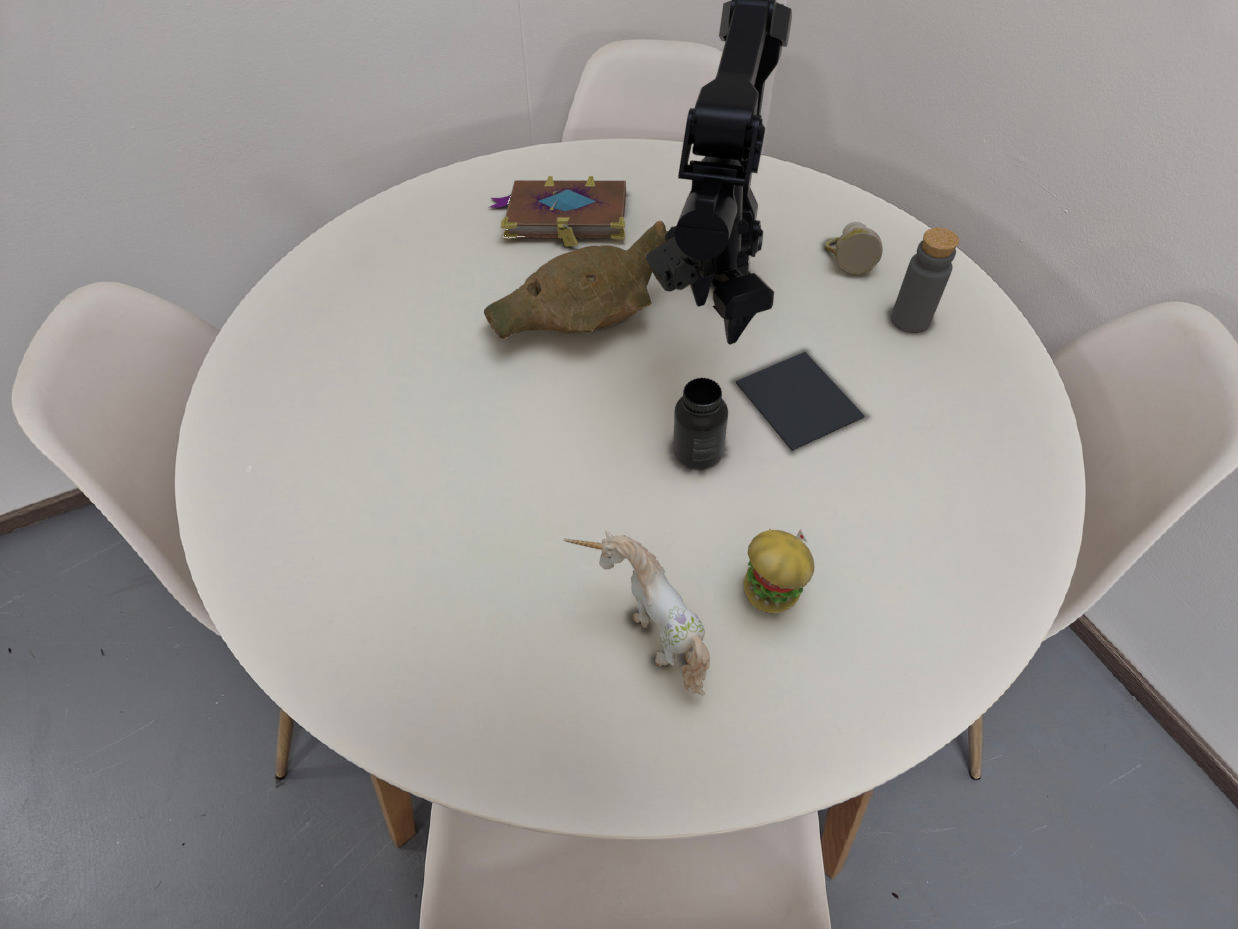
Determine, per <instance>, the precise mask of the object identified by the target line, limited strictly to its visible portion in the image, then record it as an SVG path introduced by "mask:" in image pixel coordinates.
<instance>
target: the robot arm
mask: <svg viewBox="0 0 1238 929" xmlns="http://www.w3.org/2000/svg"><path fill="white" fill-rule="evenodd" d="M792 19H793V10H792V8H791V7H788V6H786V5H785V4H784V3H780V2H778V1H777V0H728V1H726V2H723V3H722V10H721V18H720V25H719V32H718V37H719V40H720V41H721V42H724V45H723V49H722V51H721V52H722V53H721V57H720V61H719V64H718V67H717V73H716V75H715V78H713V79H712V80H711V81H710V82H708V83H705V85H703V86H702V87H700V91H699V93H698V96H697V99H696V102H695V105H694V107H690V108H689V109H688V113H687V116H686V123H685V128H684V136H683V140H682V141H683V142H682V147H681V148H682V149H681V156H680V160H679V168H678V174H677V179H679V180H686V181H691V188H690V191H689V193H688V195H687V197H686V200H685V202H684V205H683V207H682V210H681V213H680V215H679V218H678V220H677V223H676V225H674V226H670V228H669V230H667V231H668V232H667V233H666V235H665V243H663V244H662V245H660V246H658V247H657V248H655V249H654V250H652V251H651V252H649V253H648V254H647V256H646V260H647V262H648V264H649V266H650V268H651V270H652V274H653V276H654V278H655V280H656V281H657V282H658V283H659V285H660V286H661V287H662V289H663V290H664V291H665V292H668V293H670V292H674V291H683V290H684V289H686V288H688V287H689V286H690V288H691V292H692V296H693V298H694V301H695V305H696V306H697V307H698V308H699V307H703V306H705V305H706V303H707V300H708V297H709V294H710V291H711V287H713V288H714V289H713V290H712V300H713V303H714V305H712V308H713V309H714V310H715V312H716V313H717V314H718V315H719V316H720V317H721V318H722V319H723V323H724V324H723V325H724V332H725V333H724V334H725V338H726V343H727V344H728V345H729V346H731V345H733V344H737V342H738V340H739V339H740V338H741V336H742V334H743V333H744V331H746V329H747V327H748V325H749V324H750V322H751V321H752V319H753V318H754V317H755V316H756V315H757V314H759V313H762V312H765V311H769V310H772V308H773V306H774V303H775V302H774V300H775V291H774V290H773V289H772V288H771V287H770V285H768V283H766V281H765V280H764V279H763V278H762V277H761V276H759V275H758V274H757V273H755V272H750V270H749V269H750V268H749V267H750V266H749V265H750V262H749V260H750V257H751V258H755V257H756V255H757V254H758V252H761V251H762V248H763V240H764V229H762V221H761V220H758V219H757V218H758V213H759V212H758V211H759V203H758V201H757V199H756V196H755V195H754V192H753V189H752V188H751V186H752V178H753V174H758V172H759V166H760V162H761V156H762V152H763V145H764V142H765V135H766V126H765V125H764V123H763V120H764V119H763V115H762V106H763V100H764V92H765V86H766V81H767V80H768V79H769V77H770V75H771V74H772V73H773V71H774V70H775V69H776V67H777V66H778V64H779V61H780V59H781V56H782V51H783V48H784V47H785V48H787V47H788V44H789V40H790V34H791V28H792V21H793V20H792ZM691 152H692V154H693V155H695V156H699V157H703V158H702V159H701V160H694V159H691V160H690V155H691Z"/></svg>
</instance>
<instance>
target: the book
mask: <svg viewBox="0 0 1238 929" xmlns="http://www.w3.org/2000/svg"><path fill="white" fill-rule="evenodd" d="M510 196H511V197H510ZM509 198H510V201H509V204H508V205H507V203H508V200H509ZM490 199H491V200H493V201H494V202H496V203H493V204H492V205H489V206H488V208H490V209H491V208H493V209H494V208H495V209H496V208H503V207H507V208H506V212H505V216H504V217H503V218H502V220H501V221H500V226H499V228H500V229H503V230H504V231H503V234H502V235H503V236H504V237H508V238H509V237H517V236H525V237H533V238H534V237H535V238H537V239H539V238H541V239H542V238H543V239H545V238H546V239H547V238H548V239H552V238H553V239H554V238H555V239H557V238H558V239H562V241H563V245H564V247H577V246H578V245H579V241H578V240H577V239H612V240H616V241H623V240H626V230H625V228H626V221H625V211H626V210H625V209H626V200H627V180H595V178H594V176H593V175H589V176H588V178H587V180H565V179H563V180H561V179H559V180H557V179H555V180H554V176H553V175H548V177H547V179H546V180H545V179H544V180H538V179H537V180H533V179H532V180H527V179H524V180H523V179H521V180H517V179H516V180H514V181H513V186H512V189H511V193H510V194H508V195H505V196H502V197H490ZM506 229H508V230H506ZM505 235H506V236H505ZM503 236H502V237H503ZM525 237H524V238H525ZM517 238H518V237H517Z"/></svg>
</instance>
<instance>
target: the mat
mask: <svg viewBox="0 0 1238 929" xmlns="http://www.w3.org/2000/svg"><path fill="white" fill-rule="evenodd" d="M735 383H736V385H737V386H738V387H739V388H740V390H741V391H742V392H743V393H744V395H745V396H746V397H747V398H748V399H749V400H750V401H751V403H752V404H753V406H755V408H756V409H757V410H758V412H760V414H761V415H762V416H763V417H764V419H765V420H766V421H767V423H769V425H770V426H771V427H772V428H773V430H774V431H775V432H776V433H777V434H778V436H779V437H780V438H781V439H782V441H784V443H785V444H786V445H787V446H788V448H789V449H790V450H791V451H794V450H795V451H796V450H798V449H799V448H801V447H803V446H805V445H807V444H810V443H811V442H815V441H816V440H819V439H821V438H823V437H825V436H827V435H829V434H832V433H834V432H836V431H838V430H840V429H842V428H844V427H847V426H849V425H851V424H853V423H855V422H857V421H859V420H862V419H864V418H865V414H864V413H863V411H861V410H860V409H859V408H858V407H857V406H856V404H855V403H853V401H852V400H851V399H850V398H849V397H848V396H847V395H846V394H845V393H844V391H842V390H841V389H840V388H839V386H838V385H837V384H836V383H835V382H834V381H833V380H832V379H831V378H830V377H829V375H828V374H827V373H826V372H825V371H824V370H823V368H821V367H820V366H819V364H818V363H817V362H816V361H815V360H814V359H813V358H812V357H811V356H810V355H809V354H808V353H807V352H806V351H803V352H801V353H799V354H796V355H794V356H792V357H791V356H790V357H789V358H786V359H784V360H781V361H780V362H777V363H775V364H772V365H770V366H768V367H765V368H763V369H761V370H758V371H756V372H754V373H751V374H749V375H747V376H743V377H741V378H740V379H737V380H735Z"/></svg>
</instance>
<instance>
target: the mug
mask: <svg viewBox="0 0 1238 929" xmlns="http://www.w3.org/2000/svg"><path fill="white" fill-rule="evenodd" d="M835 243H836V244H835ZM831 244H835V247H834V246H831ZM824 246H825V249H826V250H827V251H829V252H831V253H832V254H833V256H834V257H835V260H836V262H837V264H838V266H839V268H840V269H841V270H843V271H846V272H847V273H849V274H851V275H861V274H865V273H867V272H869V271H871V270H872V269H873V268H875V267H876V266H877V265H878V263H880V261H881V259H882V256H883V251H884V248H883V247H884V246H883V241H882V239H881V237H880V236H879V234H878V232H876V231H875V230H874V229H871V228H870V227H867V226H866V224H864V223H862V222H860V221H852V222H849V223H848V224H845V226H844V227H843V229H842V234H841V235H840V236H836V237H835V236H834V237H832V238H829V239H828V240H827V241H826V242H825V243H824Z"/></svg>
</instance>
